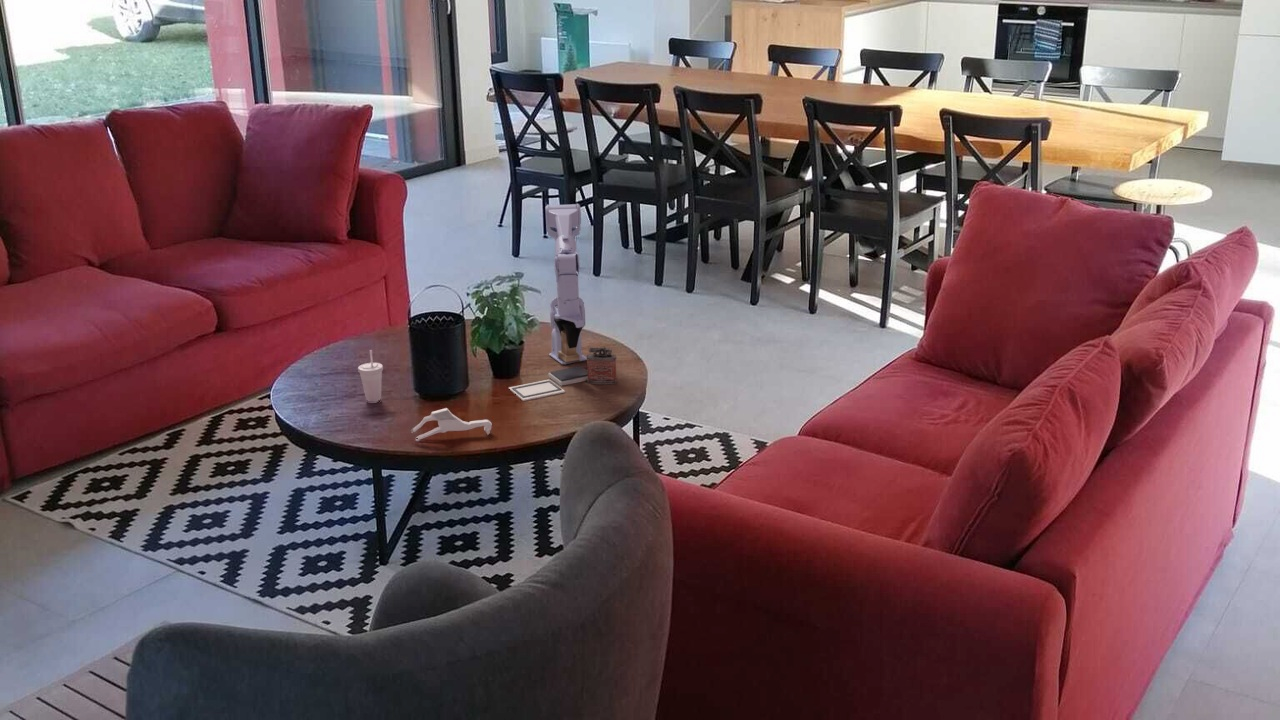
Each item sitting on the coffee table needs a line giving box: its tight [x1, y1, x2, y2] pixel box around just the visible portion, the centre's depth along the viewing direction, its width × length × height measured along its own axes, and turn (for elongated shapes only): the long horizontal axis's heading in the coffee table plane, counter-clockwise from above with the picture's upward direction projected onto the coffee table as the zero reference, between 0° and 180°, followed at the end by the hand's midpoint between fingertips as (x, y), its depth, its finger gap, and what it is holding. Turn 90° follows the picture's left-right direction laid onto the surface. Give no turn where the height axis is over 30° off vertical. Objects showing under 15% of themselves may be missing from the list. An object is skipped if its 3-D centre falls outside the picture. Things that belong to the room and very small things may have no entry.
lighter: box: [586, 345, 618, 385], centre depth 332 cm, size 8×3×10 cm, turn 84°
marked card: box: [508, 378, 566, 402], centre depth 328 cm, size 10×12×1 cm
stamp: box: [558, 331, 581, 365], centre depth 334 cm, size 5×4×8 cm
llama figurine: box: [410, 407, 493, 442], centre depth 300 cm, size 2×11×18 cm
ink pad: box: [547, 365, 588, 387], centre depth 337 cm, size 8×10×2 cm
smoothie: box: [357, 349, 384, 401], centre depth 321 cm, size 6×6×14 cm
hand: (569, 345), depth 334 cm, fingers closed on stamp, 3 cm apart
